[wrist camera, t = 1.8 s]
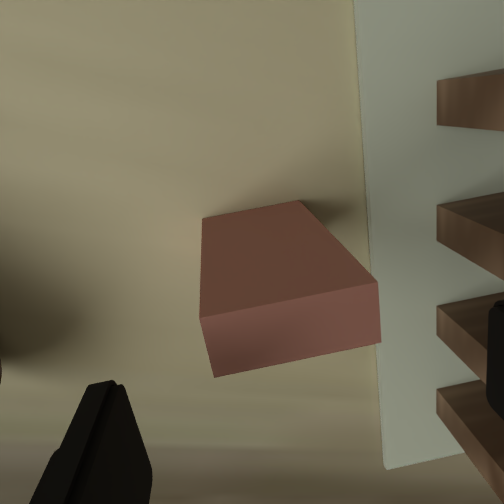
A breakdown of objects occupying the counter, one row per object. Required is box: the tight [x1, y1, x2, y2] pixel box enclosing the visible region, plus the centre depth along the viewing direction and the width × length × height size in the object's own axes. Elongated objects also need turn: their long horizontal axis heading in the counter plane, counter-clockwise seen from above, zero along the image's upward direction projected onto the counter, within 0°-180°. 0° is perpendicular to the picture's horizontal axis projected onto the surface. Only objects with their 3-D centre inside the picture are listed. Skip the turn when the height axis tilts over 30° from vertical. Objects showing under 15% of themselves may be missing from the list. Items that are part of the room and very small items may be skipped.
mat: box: [354, 0, 504, 470], centre depth 22 cm, size 32×12×1 cm, turn 10°
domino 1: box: [199, 200, 382, 378], centre depth 16 cm, size 2×5×10 cm, turn 100°
